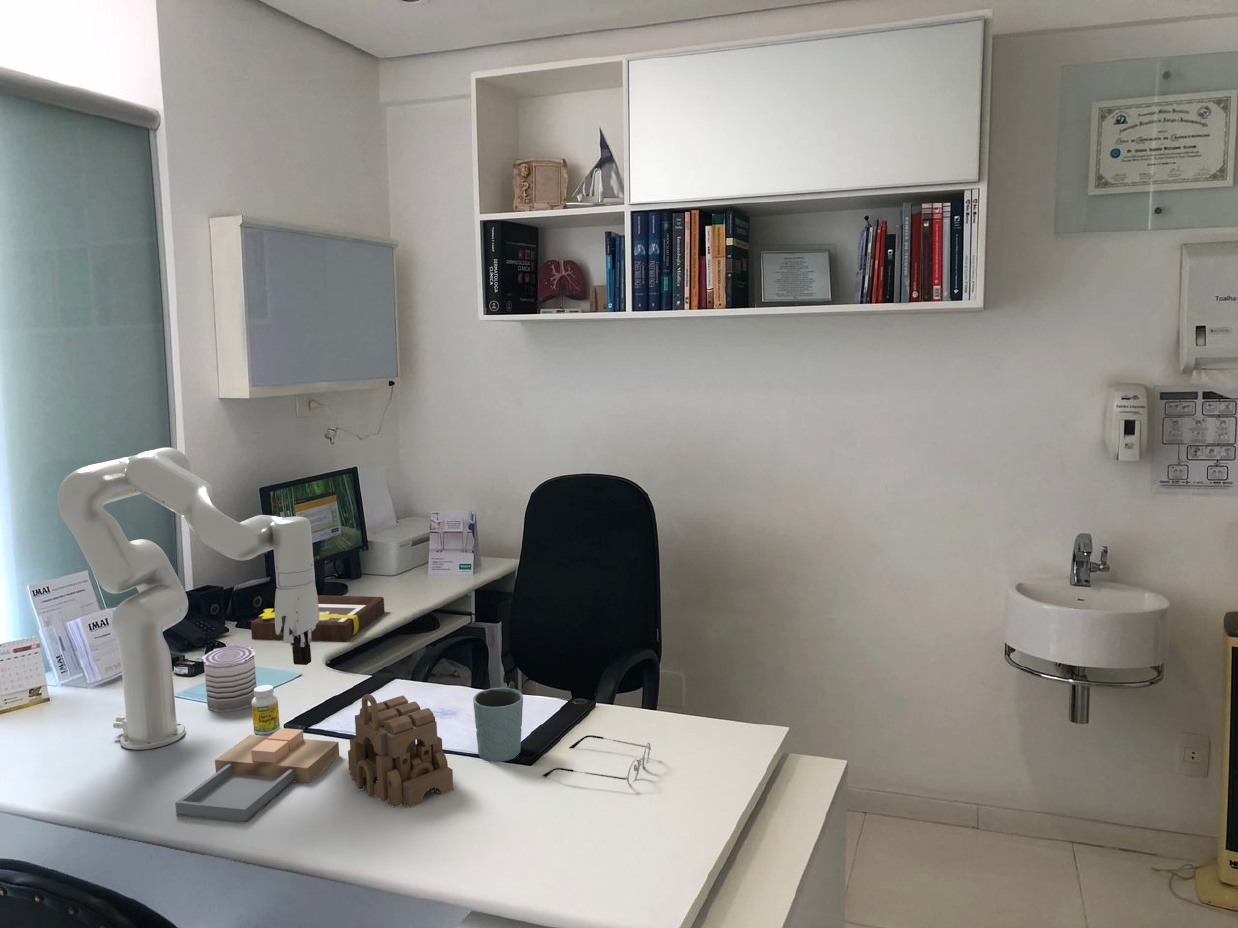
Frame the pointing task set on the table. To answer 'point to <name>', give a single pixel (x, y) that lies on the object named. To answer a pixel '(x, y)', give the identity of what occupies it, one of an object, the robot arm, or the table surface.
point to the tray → (232, 795)
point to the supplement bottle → (265, 710)
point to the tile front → (270, 751)
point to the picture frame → (328, 618)
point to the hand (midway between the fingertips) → (302, 663)
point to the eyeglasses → (609, 775)
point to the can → (230, 678)
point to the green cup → (498, 723)
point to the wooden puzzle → (398, 752)
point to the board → (281, 759)
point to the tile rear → (288, 736)
